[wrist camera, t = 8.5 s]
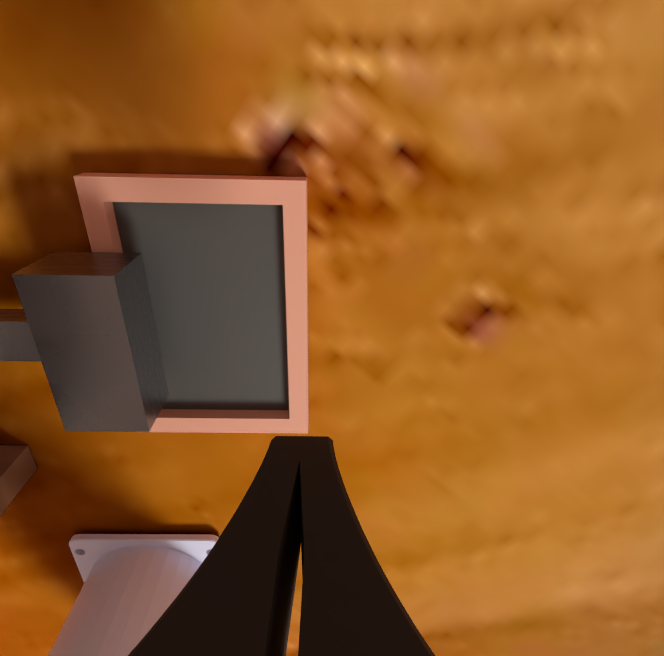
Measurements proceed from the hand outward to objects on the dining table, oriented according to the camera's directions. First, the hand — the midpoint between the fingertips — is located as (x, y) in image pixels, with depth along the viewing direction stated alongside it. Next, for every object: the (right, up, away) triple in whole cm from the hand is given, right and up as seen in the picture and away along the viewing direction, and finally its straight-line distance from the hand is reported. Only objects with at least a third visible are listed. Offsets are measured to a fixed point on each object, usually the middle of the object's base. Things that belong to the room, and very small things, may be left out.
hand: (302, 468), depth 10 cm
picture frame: (-4, +4, +7) cm, 9 cm away
